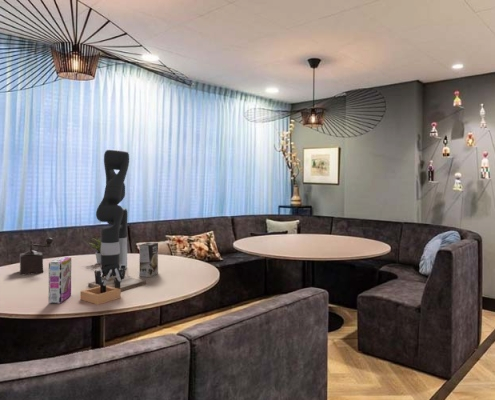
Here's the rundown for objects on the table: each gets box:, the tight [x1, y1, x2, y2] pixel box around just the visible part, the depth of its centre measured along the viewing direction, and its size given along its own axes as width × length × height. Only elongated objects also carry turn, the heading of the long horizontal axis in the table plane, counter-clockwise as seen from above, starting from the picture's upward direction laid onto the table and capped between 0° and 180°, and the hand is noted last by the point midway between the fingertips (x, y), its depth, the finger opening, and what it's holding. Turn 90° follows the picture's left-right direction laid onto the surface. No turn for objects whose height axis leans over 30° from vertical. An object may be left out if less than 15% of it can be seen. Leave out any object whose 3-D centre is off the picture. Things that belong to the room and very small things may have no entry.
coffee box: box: [138, 242, 159, 278], centre depth 196 cm, size 9×6×16 cm
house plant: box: [88, 236, 101, 265], centre depth 224 cm, size 14×14×16 cm
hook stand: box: [87, 270, 147, 292], centre depth 176 cm, size 18×18×9 cm
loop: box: [79, 286, 122, 306], centre depth 156 cm, size 11×11×4 cm
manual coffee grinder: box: [19, 237, 54, 275], centre depth 200 cm, size 16×11×18 cm
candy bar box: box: [48, 256, 72, 305], centre depth 154 cm, size 11×5×16 cm, turn 5°
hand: (110, 291), depth 160 cm, fingers open, 6 cm apart
